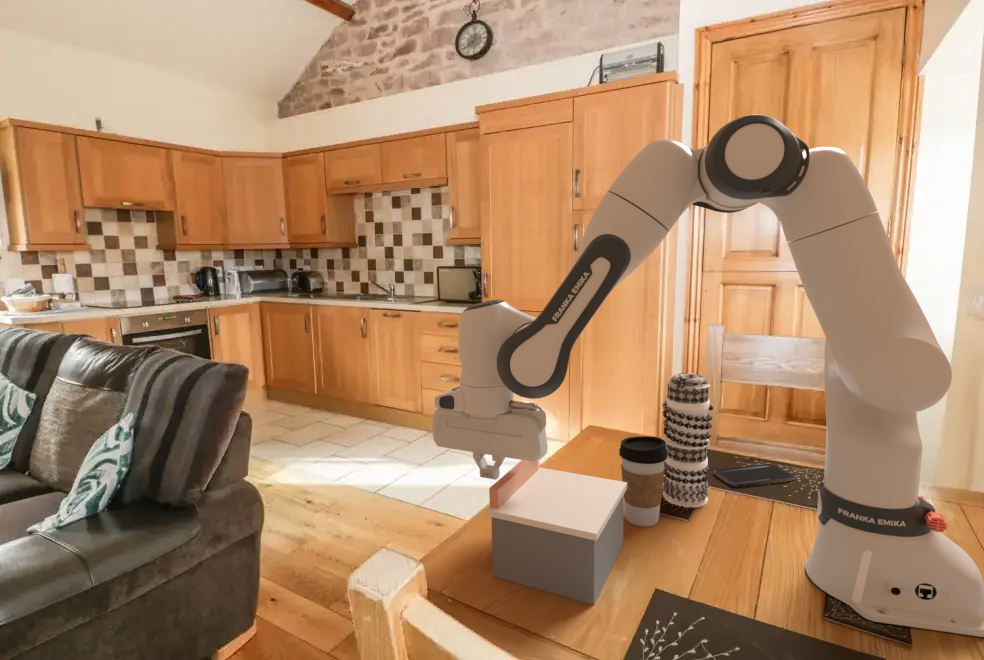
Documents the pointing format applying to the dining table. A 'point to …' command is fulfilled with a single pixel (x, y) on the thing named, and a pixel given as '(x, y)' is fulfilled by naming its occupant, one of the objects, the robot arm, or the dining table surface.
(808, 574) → the robot arm
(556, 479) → the lid
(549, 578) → the storage box
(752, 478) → the phone
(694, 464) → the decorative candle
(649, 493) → the coffee cup
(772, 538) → the dining table surface
